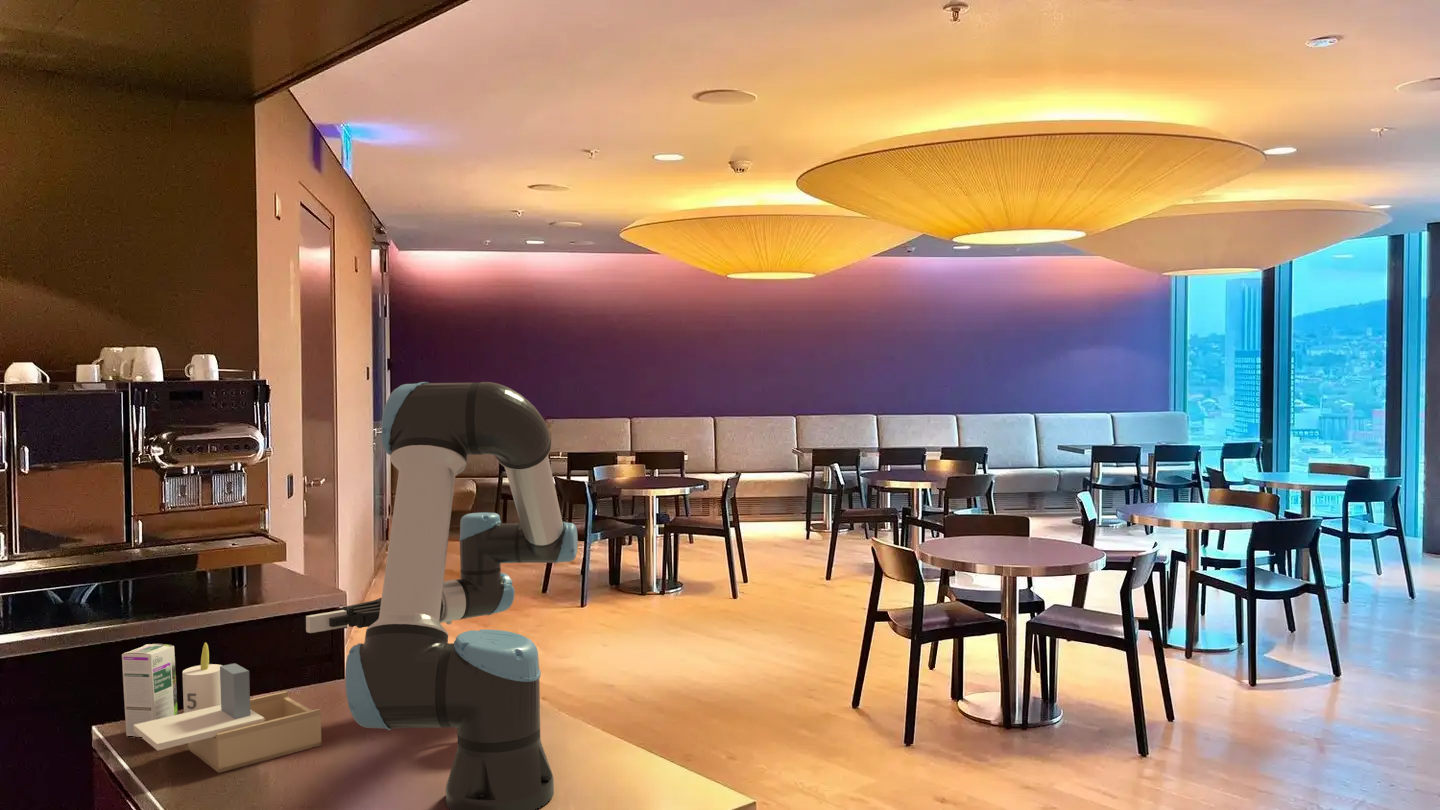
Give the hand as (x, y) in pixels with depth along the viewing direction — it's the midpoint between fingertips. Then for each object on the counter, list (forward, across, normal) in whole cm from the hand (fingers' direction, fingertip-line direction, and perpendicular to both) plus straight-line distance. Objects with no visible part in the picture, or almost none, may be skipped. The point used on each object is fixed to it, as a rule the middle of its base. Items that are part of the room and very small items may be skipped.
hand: (308, 624), depth 178 cm
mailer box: (+9, 0, -19) cm, 21 cm away
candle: (+12, +14, -19) cm, 26 cm away
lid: (+17, 0, -13) cm, 22 cm away
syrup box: (+19, +20, -19) cm, 33 cm away
